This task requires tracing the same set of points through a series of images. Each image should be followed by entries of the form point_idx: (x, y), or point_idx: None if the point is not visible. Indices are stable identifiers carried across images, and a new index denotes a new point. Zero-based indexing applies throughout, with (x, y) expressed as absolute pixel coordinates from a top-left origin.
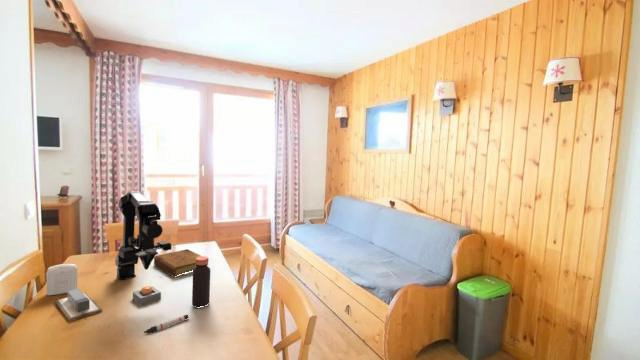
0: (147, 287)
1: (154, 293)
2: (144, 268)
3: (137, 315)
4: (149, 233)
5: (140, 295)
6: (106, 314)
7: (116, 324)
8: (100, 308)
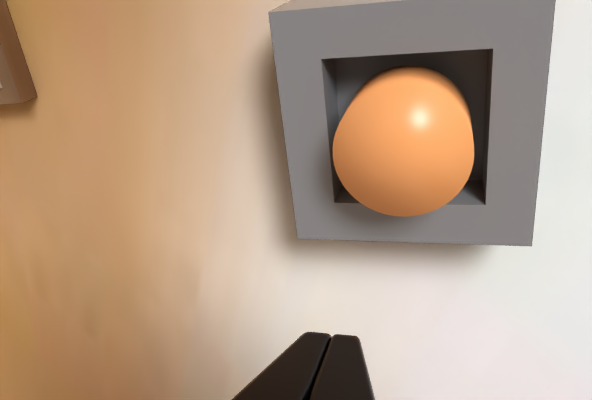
0: (413, 144)
1: (457, 226)
2: (298, 339)
3: (251, 325)
4: None
5: (314, 173)
6: (70, 165)
7: (125, 333)
8: (10, 79)
